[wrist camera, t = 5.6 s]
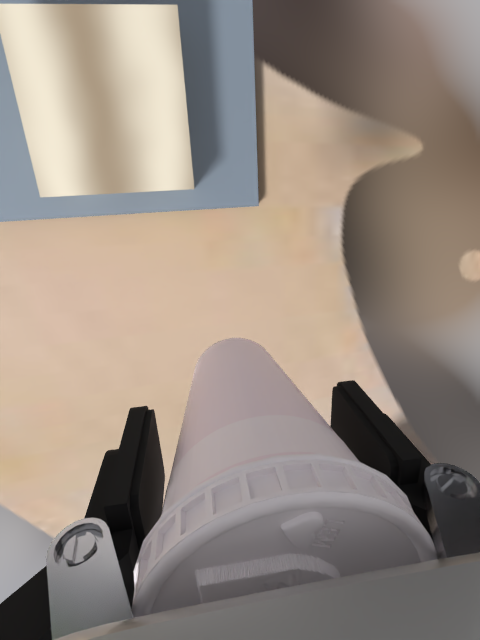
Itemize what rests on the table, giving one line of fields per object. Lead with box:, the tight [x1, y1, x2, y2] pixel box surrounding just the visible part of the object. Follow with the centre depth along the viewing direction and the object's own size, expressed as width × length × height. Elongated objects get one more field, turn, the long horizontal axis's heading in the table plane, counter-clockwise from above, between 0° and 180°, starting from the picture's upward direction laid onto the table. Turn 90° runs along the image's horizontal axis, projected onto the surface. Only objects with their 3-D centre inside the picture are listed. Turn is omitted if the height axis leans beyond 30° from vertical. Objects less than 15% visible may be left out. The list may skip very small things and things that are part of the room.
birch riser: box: [0, 4, 194, 197], centre depth 23 cm, size 10×10×3 cm
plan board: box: [0, 0, 259, 222], centre depth 24 cm, size 20×13×1 cm, turn 93°
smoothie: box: [131, 338, 438, 618], centre depth 9 cm, size 6×6×14 cm
